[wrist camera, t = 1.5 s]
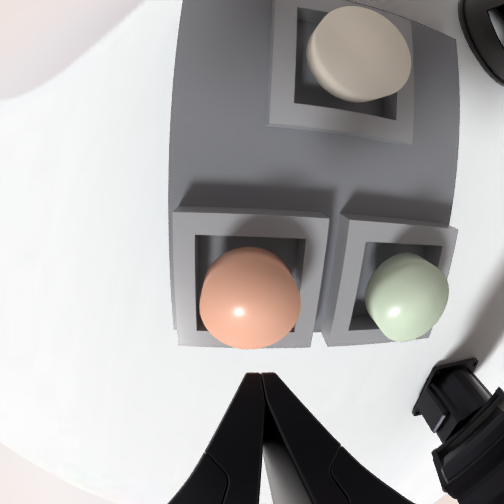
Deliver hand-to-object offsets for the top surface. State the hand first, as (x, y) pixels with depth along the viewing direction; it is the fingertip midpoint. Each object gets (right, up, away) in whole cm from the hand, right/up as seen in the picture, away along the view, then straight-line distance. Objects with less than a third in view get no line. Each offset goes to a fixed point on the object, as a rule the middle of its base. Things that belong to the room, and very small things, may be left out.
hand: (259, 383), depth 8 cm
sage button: (+8, +2, +7) cm, 10 cm away
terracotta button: (0, +2, +6) cm, 6 cm away
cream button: (+4, +12, +3) cm, 13 cm away
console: (+4, +9, +9) cm, 13 cm away
